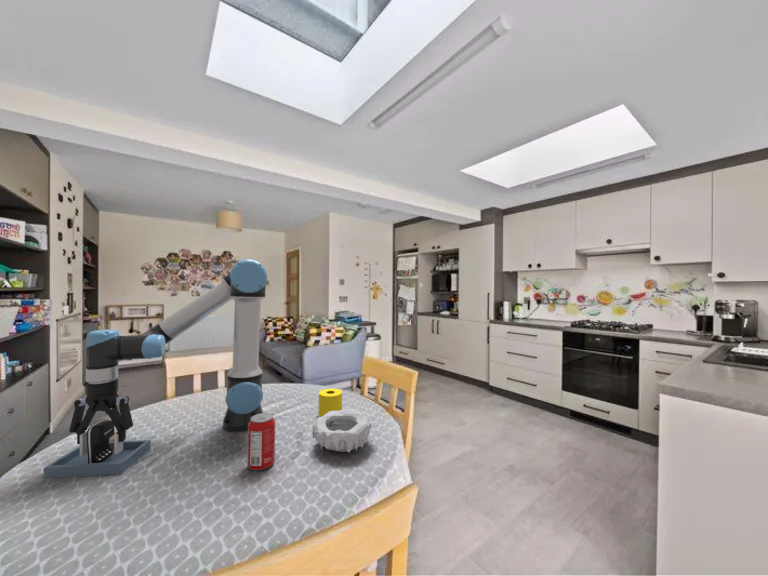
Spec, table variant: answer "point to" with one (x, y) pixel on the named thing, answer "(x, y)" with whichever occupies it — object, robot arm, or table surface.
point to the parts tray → (113, 464)
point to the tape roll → (329, 401)
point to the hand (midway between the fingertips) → (101, 452)
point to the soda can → (261, 441)
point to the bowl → (342, 430)
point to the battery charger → (99, 441)
